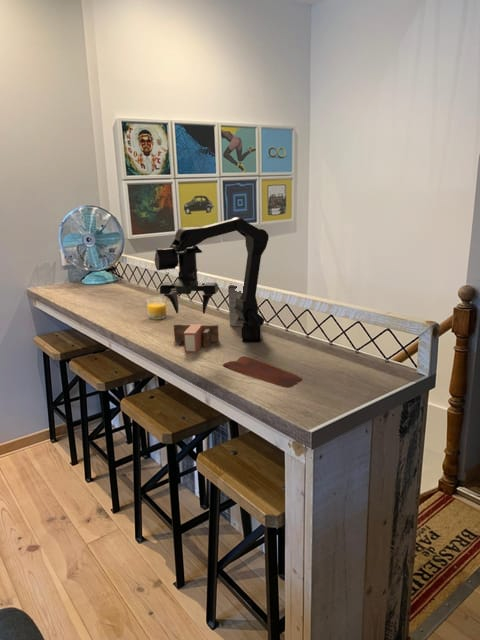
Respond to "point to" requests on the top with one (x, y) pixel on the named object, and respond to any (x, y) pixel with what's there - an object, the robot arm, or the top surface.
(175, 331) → the wooden display stand
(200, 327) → the block
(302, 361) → the top surface
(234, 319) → the coffee box
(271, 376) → the wooden tablet
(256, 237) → the robot arm
